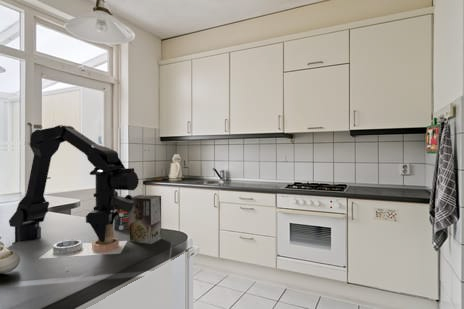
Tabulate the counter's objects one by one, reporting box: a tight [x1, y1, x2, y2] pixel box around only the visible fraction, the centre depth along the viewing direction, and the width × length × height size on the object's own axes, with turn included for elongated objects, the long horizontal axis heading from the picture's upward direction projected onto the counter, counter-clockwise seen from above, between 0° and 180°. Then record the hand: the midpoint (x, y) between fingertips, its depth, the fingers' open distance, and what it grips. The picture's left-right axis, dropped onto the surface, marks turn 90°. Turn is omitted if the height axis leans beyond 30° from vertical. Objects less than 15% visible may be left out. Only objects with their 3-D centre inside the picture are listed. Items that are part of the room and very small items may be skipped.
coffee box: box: [129, 194, 162, 245], centre depth 95 cm, size 9×6×16 cm
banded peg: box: [97, 223, 114, 245], centre depth 87 cm, size 5×5×7 cm
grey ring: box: [52, 239, 83, 255], centre depth 85 cm, size 8×8×2 cm
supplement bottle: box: [113, 209, 130, 232], centre depth 110 cm, size 6×6×11 cm
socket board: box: [38, 240, 128, 260], centre depth 86 cm, size 22×12×1 cm, turn 101°
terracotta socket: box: [91, 237, 120, 252], centre depth 87 cm, size 8×8×2 cm
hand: (105, 238), depth 87 cm, fingers open, 7 cm apart
